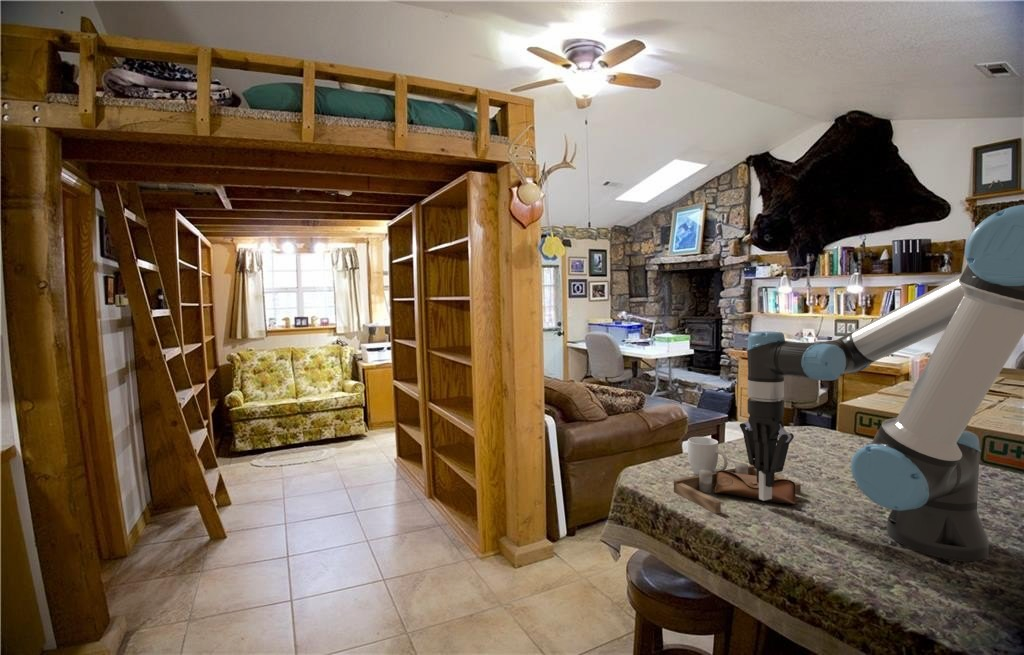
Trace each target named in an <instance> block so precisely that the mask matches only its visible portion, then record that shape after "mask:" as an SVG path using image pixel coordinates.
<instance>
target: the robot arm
mask: <svg viewBox="0 0 1024 655" xmlns="http://www.w3.org/2000/svg"><path fill="white" fill-rule="evenodd" d="M964 256H965V257H964V258H965V260H966V263H967V264H966V266H965V268H964V270H963V272H962V273H961V274H960V275H957V276H956V277H954V278H953V279H950V280H948V281H947V282H945V283H942V284H941V285H939V286H937V287H935V288H933V289H932V290H930V291H927V292H925V293H924V294H921V295H919V296H918V297H916V298H914V299H912V300H910V301H909V302H906V303H905V304H902V305H900V306H899V307H897V308H895V309H893V310H891V311H889V312H887V313H885V314H884V315H882V316H880V317H878V318H876V319H873V320H872V321H870V322H869V323H866V324H863V325H862V326H861V327H859V328H857V329H855V330H852V332H850V333H847V334H845V335H843V336H842V337H840V338H838V339H834V340H832V339H831V340H825V341H814V342H801V341H795V342H794V341H787V340H786V339H785V334H784V333H783V332H781V331H772V330H771V331H752V332H751V333H749V334H748V336H747V349H746V352H747V387H746V388H747V393H746V395H747V396H748V397H749V398H748V399H747V414H748V415H749V416H748V418H747V421H745V422H743V423H740V424H739V427H740V430H741V431H742V434H743V440H744V444H745V448H746V450H745V451H746V454H747V460H748V464H749V466H750V465H753V466H754V467H755V468H756V470H757V483H759V499H761V500H760V501H762V502H765V501H764V500H769V499H772V487H773V486H774V474H775V475H776V473H780V472H783V470H784V466H785V463H786V460H787V455H788V451H789V446H790V443H791V442H792V441H793V439H794V437H795V436H794V434H793V433H789V432H788V431H786V429H785V426H784V422H783V418H784V416H785V401H784V400H783V399H784V398H785V385H784V384H785V376H788V377H797V378H806V379H811V380H815V381H836V380H838V379H839V378H840V376H842V375H844V374H854V373H857V372H860V371H861V372H862V371H864V370H866V369H868V368H869V367H870V366H871V365H872V364H873V363H875V362H877V361H878V360H880V359H883V358H885V357H887V356H890V355H891V354H894V353H896V352H899V351H901V350H903V349H905V348H908V347H909V346H912V345H914V344H917V343H918V342H920V341H924V340H925V339H927V338H929V337H932V336H934V335H936V334H939V333H941V332H943V333H942V335H941V337H940V339H939V341H938V343H937V344H936V345H935V347H934V349H933V351H932V353H931V354H930V356H929V359H928V360H927V362H926V364H925V366H924V368H923V370H922V371H921V373H920V375H919V377H918V379H917V381H916V382H915V384H914V385H913V388H912V390H911V391H910V394H909V395H908V398H907V399H906V400H905V403H904V405H903V407H902V408H901V410H900V412H899V413H898V415H897V417H893V418H888V419H885V420H883V422H881V425H880V426H879V428H878V429H877V432H876V433H875V436H874V437H873V439H872V441H871V442H870V444H865V445H863V446H862V447H861V448H859V449H858V450H857V451H856V452H855V453H854V455H852V457H851V458H852V459H851V463H850V464H851V465H850V470H851V471H850V472H851V475H852V477H853V478H854V481H855V482H856V486H857V487H858V488H859V490H860V492H862V494H864V495H865V496H866V497H867V499H869V500H871V501H872V502H873V503H875V504H877V505H878V506H880V507H883V508H885V509H888V510H890V513H889V515H888V518H887V521H886V532H887V534H888V535H889V537H891V538H892V539H893V540H894V541H896V542H898V543H899V544H901V545H903V546H905V547H907V548H909V549H912V550H914V551H916V552H920V553H922V554H926V555H930V556H933V557H935V558H942V559H946V560H952V561H958V562H959V561H961V562H978V561H982V560H985V559H987V558H988V557H989V554H990V553H989V550H990V549H989V548H990V542H989V539H988V536H987V534H986V532H985V529H984V526H983V524H982V521H981V518H980V516H979V513H978V499H979V498H978V497H979V478H980V477H979V476H980V475H979V473H980V454H981V452H982V450H981V449H980V439H979V436H978V435H977V434H976V433H974V432H972V431H969V430H966V428H967V427H968V425H969V423H970V421H971V419H972V418H973V416H974V415H975V414H976V412H977V410H978V409H979V407H980V406H981V403H982V402H983V400H985V397H986V396H987V394H988V392H989V391H990V389H991V388H992V386H993V384H994V382H995V381H996V379H997V378H998V376H999V375H1000V373H1001V372H1002V370H1003V368H1004V367H1005V365H1006V363H1007V362H1008V360H1009V358H1010V357H1011V355H1012V353H1013V352H1014V351H1015V349H1016V347H1017V345H1018V344H1019V342H1020V341H1021V339H1022V337H1023V336H1024V204H1020V205H1014V206H1010V207H1006V208H1004V209H1002V210H1001V209H1000V210H999V211H997V212H995V213H992V214H990V215H989V216H987V217H986V218H984V220H982V221H981V222H980V223H979V224H978V225H976V226H975V227H974V229H973V230H972V231H971V232H970V234H969V236H968V238H967V240H966V243H965V247H964Z"/></svg>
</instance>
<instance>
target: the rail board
mask: <svg viewBox="0 0 1024 655" xmlns="http://www.w3.org/2000/svg"><path fill="white" fill-rule="evenodd" d="M734 465H735V468H730V469H725V470H724V471H729V472H733V473H739V474H747V475H754V476H757V470H756V468H755V467H754V466H753V465H750V464H749V465H748V464H746V463H743V462H737V463H735V464H734ZM716 478H717V472H713V473H712V471H710V470H700V471H699V475H693V476H687V477H682V478H677V479H673V493H675V494H678V495H679V496H681V497H683V498H685V499H687V500H689V501H690V502H693V503H694V504H697V505H698V506H700V507H701V508H704V509H706V510H707V511H709V512H710V513H713V514H720V513H722V512H721V510H722V508H721V506H722V505H721V504H722V502H721V501H719V500H717V499H715V498H713V497H711V496H710V495H709V494H711V493H713V487H715V485H716ZM774 479H787V480H789V479H788V478H785V477H782V476H780V475H777V474H776V473H775V474H774ZM793 482H794V483H795V495H798V494H799V495H800V494H801V492H802V491H801V483H798V482H795V481H793ZM698 489H699V490H698Z"/></svg>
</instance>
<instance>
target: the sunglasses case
mask: <svg viewBox="0 0 1024 655" xmlns="http://www.w3.org/2000/svg"><path fill="white" fill-rule="evenodd" d="M787 479H788V478H785V479H774V486H773V487H772V499H769V500H764V501H763V502H769V503H770V502H771V503H778V504H779V503H780V504H789V505H791V504H792V505H797V496H796V495H797V494H795V483H794V482H795V481H794V480H793V481H792V480H791V479H788V480H787ZM713 492H714V493H715V494H723V495H731V496H737V497H742V498H749V499H754V500H759V501H762V500H761V499H759V483H757V476H754V475H747V474H739V473H733V472H729V471H724V470H720V471H718V472H717V478H716V485H714V491H713Z"/></svg>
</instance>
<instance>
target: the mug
mask: <svg viewBox="0 0 1024 655" xmlns="http://www.w3.org/2000/svg"><path fill="white" fill-rule="evenodd" d="M719 455H720V456H721V457H722V458H723V467H722V468H720V469H717V465H718V462H719V461H718V460H719ZM687 456H688V457H687V459H688V462H689V466H690V468H691V470H692V473H693V474H694V475H695V476H697V475H699V471H700V470H710V471H712V473H713V472H718V471H720V470H727V467H728V463H729V462H728V458H727V455H726V454H725V453H724V451H722V450H720V449H719V441H718V440H717V439H714V438H711V437H706V436H705V437H704V436H693V437H689V438H688V439H687Z"/></svg>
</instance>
